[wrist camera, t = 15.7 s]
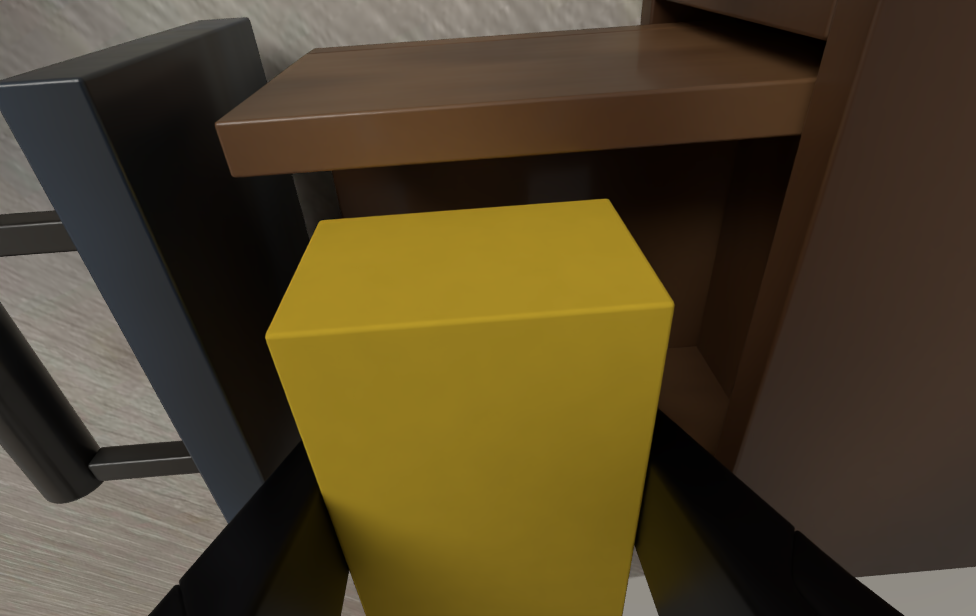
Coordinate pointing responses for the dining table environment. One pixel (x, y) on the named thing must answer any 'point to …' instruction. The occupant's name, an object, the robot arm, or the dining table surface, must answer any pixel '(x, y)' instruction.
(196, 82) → the drawer
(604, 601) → the block
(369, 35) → the dining table surface
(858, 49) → the cabinet
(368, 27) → the dining table surface
